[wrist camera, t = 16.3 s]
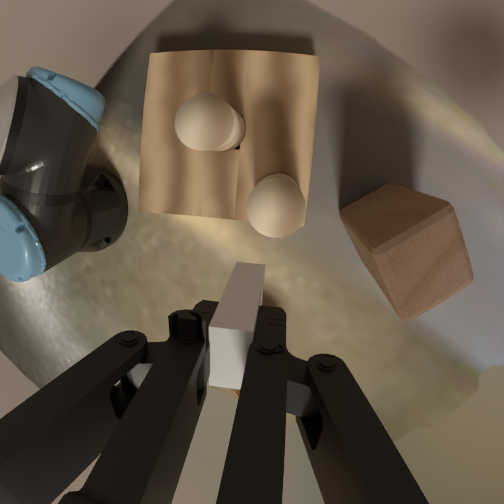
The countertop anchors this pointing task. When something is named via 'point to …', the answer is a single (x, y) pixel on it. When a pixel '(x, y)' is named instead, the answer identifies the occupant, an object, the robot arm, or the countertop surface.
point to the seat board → (251, 148)
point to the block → (409, 247)
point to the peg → (209, 124)
